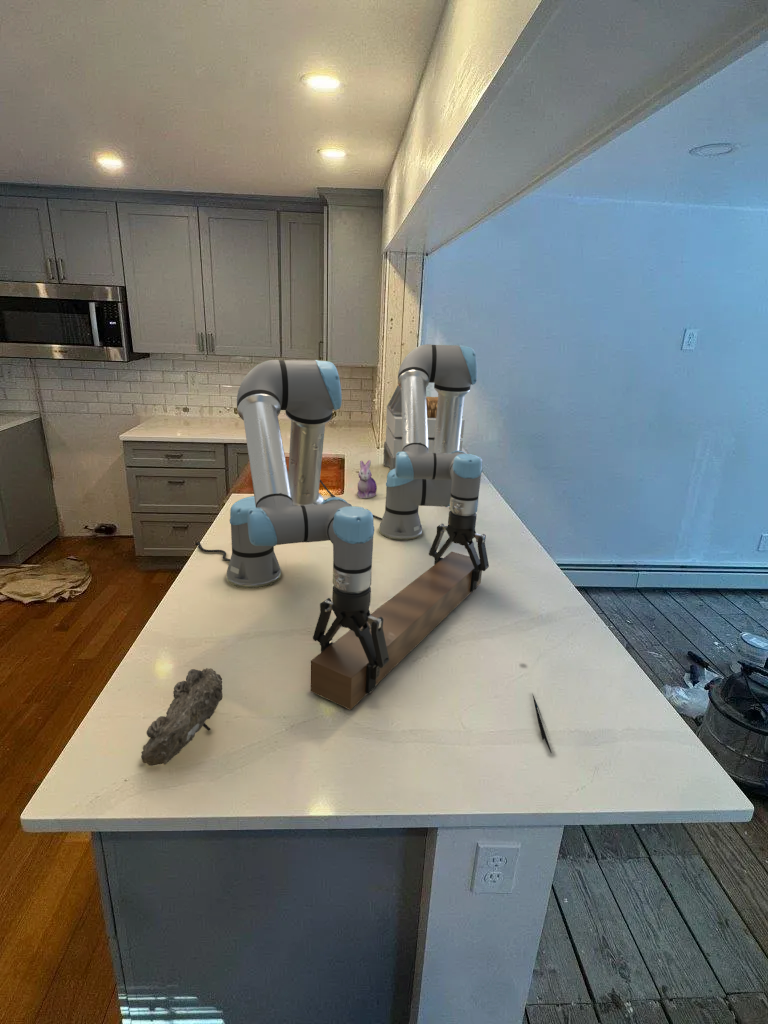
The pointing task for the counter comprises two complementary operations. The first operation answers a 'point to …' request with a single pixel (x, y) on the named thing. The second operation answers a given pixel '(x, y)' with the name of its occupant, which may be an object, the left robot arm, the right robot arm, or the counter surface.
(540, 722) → the feather
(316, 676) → the thick board
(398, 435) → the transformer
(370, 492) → the figurine
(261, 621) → the counter surface
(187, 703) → the fossil
